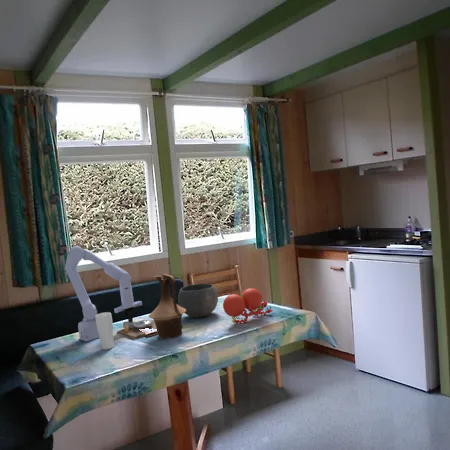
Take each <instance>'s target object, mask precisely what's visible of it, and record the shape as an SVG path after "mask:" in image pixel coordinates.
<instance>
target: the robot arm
mask: <svg viewBox="0 0 450 450" xmlns="http://www.w3.org/2000/svg"><path fill="white" fill-rule="evenodd" d="M82 260H83V261H90V262H92V263H93V264H95V265H97V266H99V267H100V268H103V272H104V273H105V274H106V275H108V276H109V277H110V278H112V279H114V280H117V281H118V283H119V293H120V299H121V300H120V301H121V305H120V306H118V307H116V308H113V309H114V313H115V314H118V313H120V312H121V313H122V312H123V313H124V315H125V316H126V318H127V322H134V321H133V319H134V315H135V311H136V307H139V306H143V302H142V301H141V300H137V301H134V296H133V294H134V293H133V287H132V283H131V282H132V276H131V275H130V274H129V272H127V271H126V270H125V269H124V268H121V267H119V266H118V265H117V263H115V262H106V261H105V260H103V258H100V257H99V256H98V255H96V254H95V253H94V252H91V251H90V250H87V249H85V248H82V246H79V245H74V246H72V247H71V248H70V249H69V251H68V253H67V256H66V262H65V264H64V265H65V266H64V268H65V272H66V275H67V276H68V278H69V281H70V284H72V287H73V290H74V291H75V294H76V296H77V299H78V300H79V303H80V306H81V308H82V314H83V318H82V321H80V322H78V325H77V329H78V335H79V337H78V338H79V340H81V341H84V342H89V341H93V340H96V339H98V338H99V334H98V329H97V325H96V317H95V316H96V315H97V314H98V310H97V307H96V305H95V304H93V302H91V299H90V296H89V295H88V293H87V290H86V288H85V286H84V283H83V281H82V279H81V277H80V274H79V272H78V270H77V268H78V266H79V263H80V261H82ZM99 339H100V338H99Z"/></svg>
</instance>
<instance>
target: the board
mask: <svg viewBox="0 0 450 450" xmlns="http://www.w3.org/2000/svg"><path fill="white" fill-rule="evenodd" d="M151 320H152V321H153V325H152V326H150V327H147V328H149V329H152V328H153V329H157V328H156V324H155V322H154V319H151ZM128 329H129V332H128V333H125V328H122V329H119V330H116V334H117V335H121V336H123V337H126V338H129V339H130V338H131V339H133V340H138V339H141V338H143V337H146V336H145V332H142V331H140V330H139V329H137V328H128ZM140 329H145V328H140ZM151 331H152V330H151Z"/></svg>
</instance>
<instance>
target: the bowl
mask: <svg viewBox="0 0 450 450" xmlns="http://www.w3.org/2000/svg"><path fill="white" fill-rule="evenodd" d="M177 302H178V303H177V304H178V305H179V306H181V307H183V308H185V309H186V312H185V313H184V314H185V315H187V316H188V317H192V318H202V317H206V316H208V315H210V314H211V313H213V312H214V311H215V310H216V307H217V306H218V302H219V294H218V291H217V288H216V287H215V285H214V284H211V283H195V284H194V283H193V284H188V285H185V286H183V287H181V288H180V289H179V292H178V295H177Z"/></svg>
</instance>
